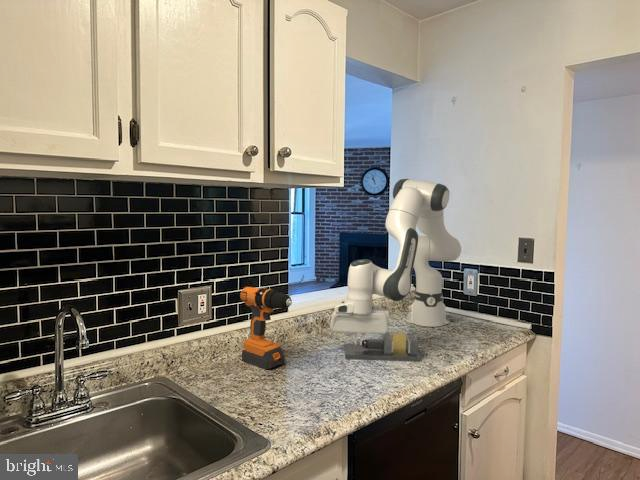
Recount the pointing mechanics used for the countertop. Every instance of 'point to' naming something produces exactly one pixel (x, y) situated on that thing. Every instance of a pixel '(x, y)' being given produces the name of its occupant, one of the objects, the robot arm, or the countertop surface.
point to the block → (399, 342)
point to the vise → (378, 354)
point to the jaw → (380, 344)
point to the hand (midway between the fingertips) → (358, 344)
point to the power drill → (262, 326)
